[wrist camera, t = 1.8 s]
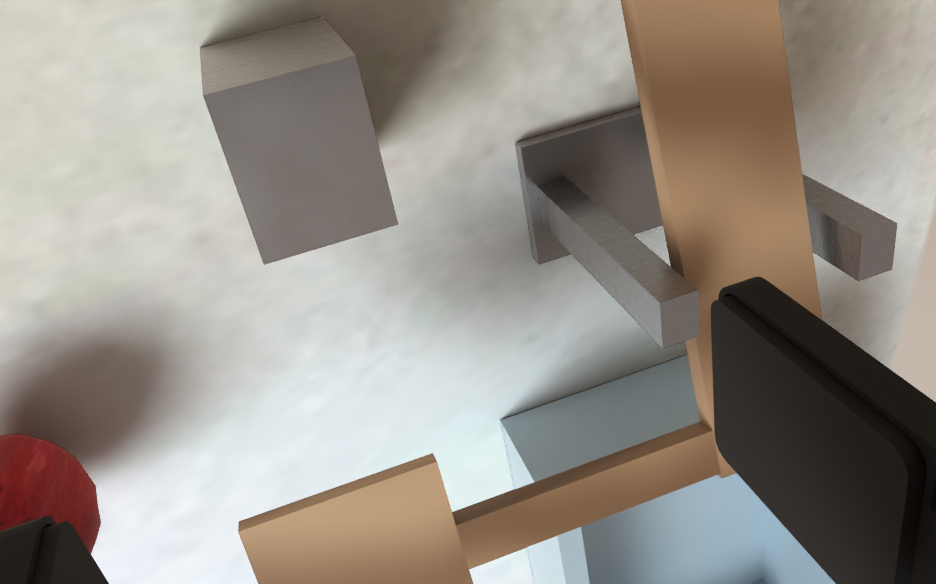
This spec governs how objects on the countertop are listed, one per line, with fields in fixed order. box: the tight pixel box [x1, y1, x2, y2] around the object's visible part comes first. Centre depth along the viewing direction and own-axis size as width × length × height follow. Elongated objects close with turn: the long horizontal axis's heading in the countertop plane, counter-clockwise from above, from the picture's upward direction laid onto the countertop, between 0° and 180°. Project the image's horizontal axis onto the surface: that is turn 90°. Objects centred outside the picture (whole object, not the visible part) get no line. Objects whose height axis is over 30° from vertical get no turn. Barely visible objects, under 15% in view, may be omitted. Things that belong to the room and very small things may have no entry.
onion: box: [0, 434, 101, 554], centre depth 27 cm, size 6×6×8 cm
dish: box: [500, 355, 835, 584], centre depth 39 cm, size 18×14×6 cm
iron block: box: [200, 17, 398, 265], centre depth 25 cm, size 5×4×6 cm
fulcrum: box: [515, 106, 897, 349], centre depth 28 cm, size 5×9×10 cm, turn 100°
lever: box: [238, 0, 822, 584], centre depth 22 cm, size 27×19×3 cm
